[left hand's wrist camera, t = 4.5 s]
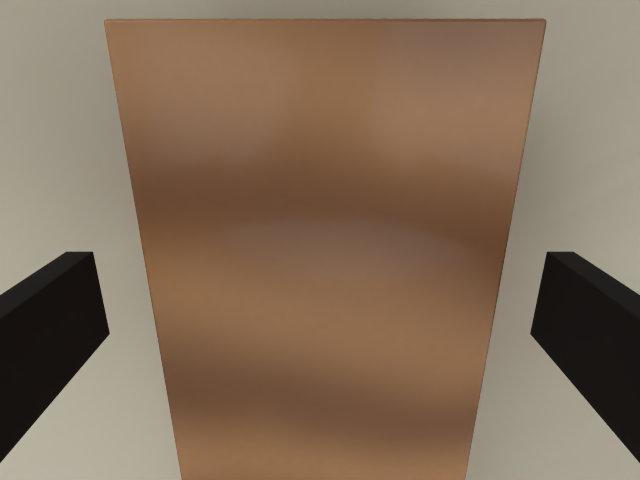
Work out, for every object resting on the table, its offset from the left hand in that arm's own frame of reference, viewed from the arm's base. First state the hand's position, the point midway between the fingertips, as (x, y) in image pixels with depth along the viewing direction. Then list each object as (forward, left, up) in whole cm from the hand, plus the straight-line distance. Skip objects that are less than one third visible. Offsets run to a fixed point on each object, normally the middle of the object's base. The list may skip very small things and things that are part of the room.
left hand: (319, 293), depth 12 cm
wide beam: (+26, -5, -5) cm, 27 cm away
